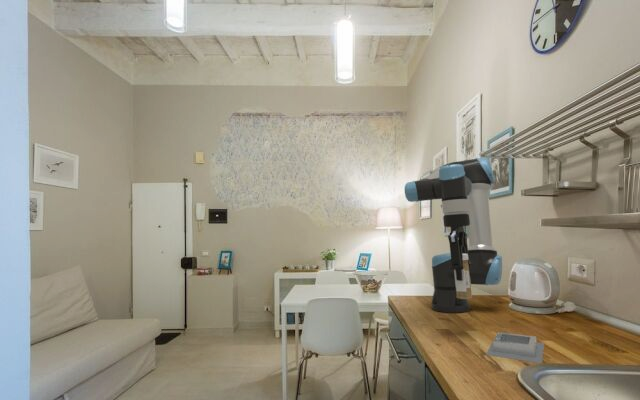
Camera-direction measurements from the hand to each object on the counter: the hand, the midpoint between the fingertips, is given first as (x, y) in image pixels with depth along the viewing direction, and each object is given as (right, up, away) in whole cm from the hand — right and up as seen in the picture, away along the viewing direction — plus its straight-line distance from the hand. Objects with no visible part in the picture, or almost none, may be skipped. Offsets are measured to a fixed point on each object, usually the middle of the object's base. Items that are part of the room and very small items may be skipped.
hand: (463, 289), depth 100 cm
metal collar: (+8, -12, -13) cm, 20 cm away
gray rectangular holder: (+8, -13, -14) cm, 20 cm away
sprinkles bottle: (0, -3, 0) cm, 3 cm away
